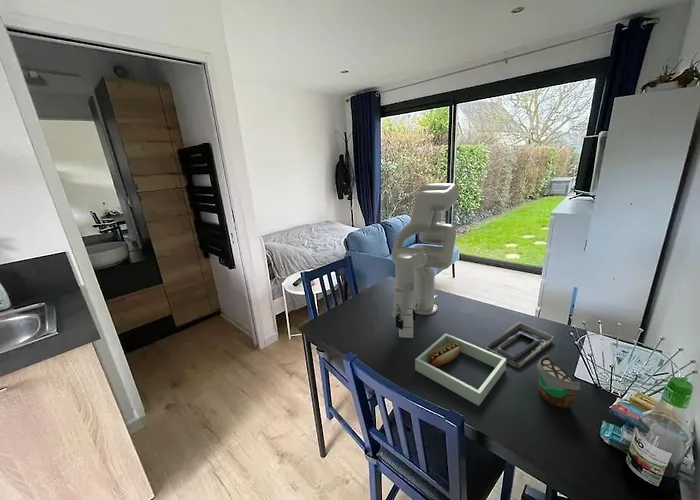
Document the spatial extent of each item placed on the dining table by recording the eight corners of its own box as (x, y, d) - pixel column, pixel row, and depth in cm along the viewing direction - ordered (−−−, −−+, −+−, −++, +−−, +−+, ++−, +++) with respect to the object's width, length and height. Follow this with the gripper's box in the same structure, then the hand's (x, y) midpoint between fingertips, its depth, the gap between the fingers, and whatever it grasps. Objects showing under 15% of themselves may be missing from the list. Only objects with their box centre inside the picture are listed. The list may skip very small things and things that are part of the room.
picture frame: (553, 343, 108) (555, 336, 108) (519, 372, 96) (520, 364, 95) (517, 327, 119) (518, 321, 118) (482, 352, 106) (483, 345, 105)
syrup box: (413, 338, 116) (413, 306, 112) (398, 337, 117) (397, 305, 113) (413, 330, 121) (413, 299, 117) (398, 329, 123) (398, 299, 118)
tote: (445, 343, 112) (445, 333, 110) (505, 370, 96) (506, 358, 95) (415, 369, 99) (415, 359, 98) (478, 406, 84) (479, 393, 82)
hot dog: (463, 357, 104) (464, 345, 102) (436, 372, 98) (437, 360, 96) (452, 350, 108) (453, 339, 106) (426, 364, 102) (426, 352, 100)
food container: (524, 382, 91) (528, 355, 88) (542, 380, 91) (547, 353, 88) (553, 415, 79) (559, 386, 76) (575, 412, 79) (581, 383, 76)
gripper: (410, 275, 121) (410, 312, 126) (383, 289, 109) (385, 329, 115) (426, 279, 115) (425, 318, 121) (399, 295, 104) (400, 336, 110)
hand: (405, 323), depth 118 cm, fingers closed on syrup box, 8 cm apart
